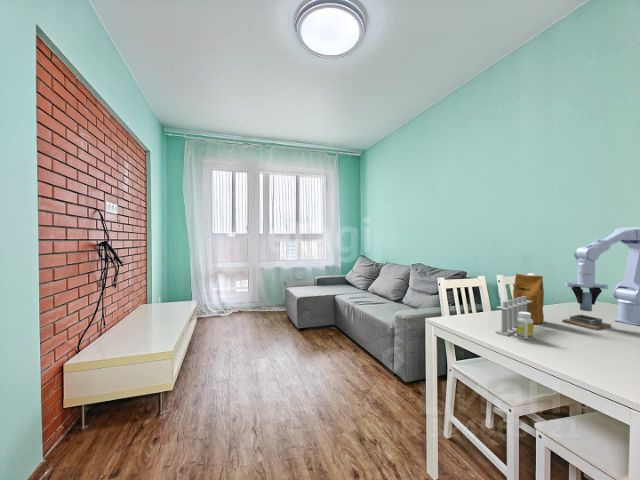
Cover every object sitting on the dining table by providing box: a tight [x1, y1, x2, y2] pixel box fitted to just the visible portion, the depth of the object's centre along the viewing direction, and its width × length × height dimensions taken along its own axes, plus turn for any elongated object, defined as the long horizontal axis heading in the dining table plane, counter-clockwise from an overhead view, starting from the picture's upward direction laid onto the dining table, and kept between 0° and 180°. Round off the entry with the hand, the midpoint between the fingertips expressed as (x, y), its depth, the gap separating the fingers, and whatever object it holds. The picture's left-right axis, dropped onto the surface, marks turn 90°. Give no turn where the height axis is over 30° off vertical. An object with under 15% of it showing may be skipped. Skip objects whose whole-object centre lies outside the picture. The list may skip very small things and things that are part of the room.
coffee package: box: [512, 272, 545, 325], centre depth 133 cm, size 10×12×22 cm
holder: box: [561, 313, 612, 331], centre depth 127 cm, size 12×12×3 cm
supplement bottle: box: [516, 312, 534, 340], centre depth 112 cm, size 5×5×10 cm
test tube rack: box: [495, 296, 533, 337], centre depth 122 cm, size 25×4×13 cm, turn 123°
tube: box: [579, 291, 593, 312], centre depth 127 cm, size 4×4×8 cm
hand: (585, 303), depth 127 cm, fingers closed on tube, 4 cm apart
